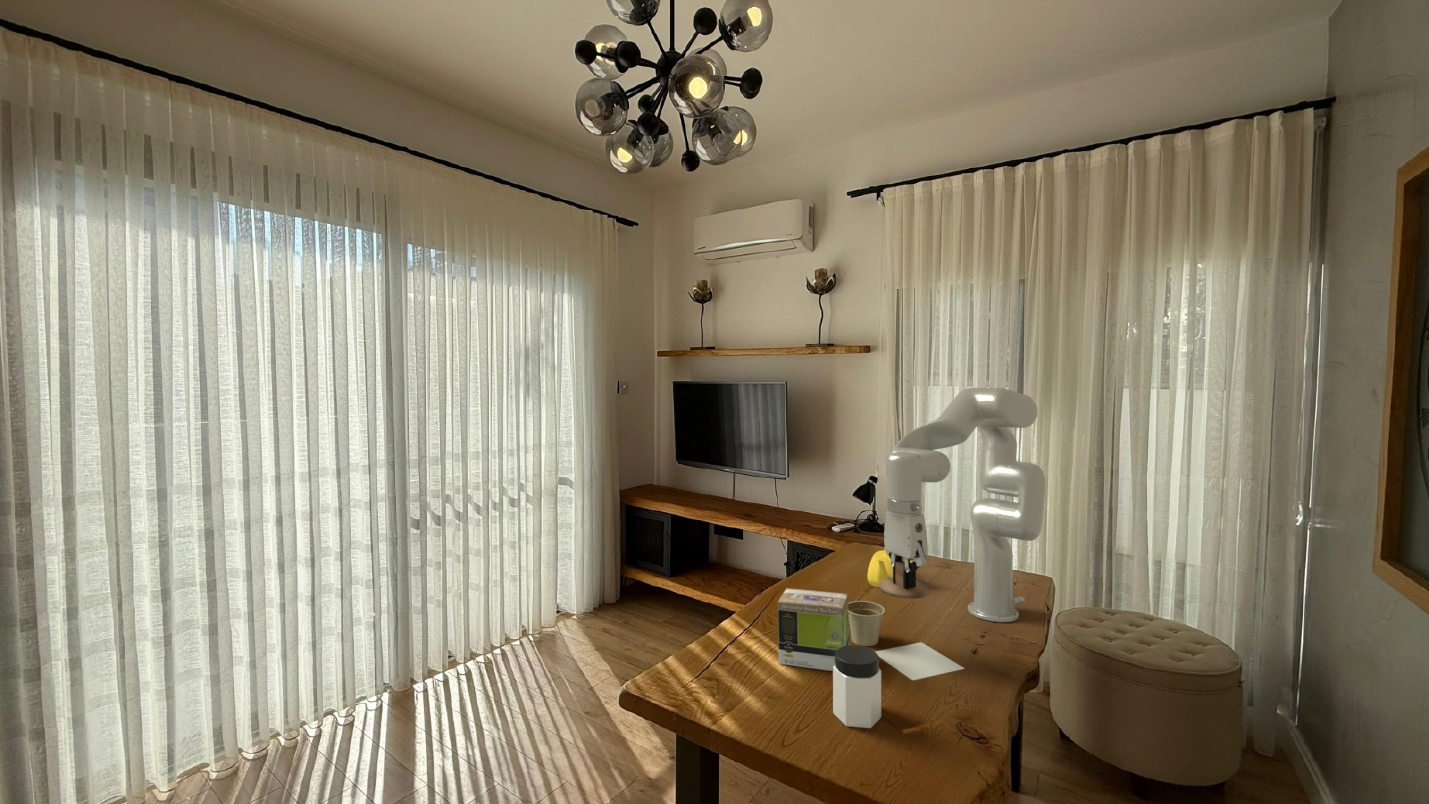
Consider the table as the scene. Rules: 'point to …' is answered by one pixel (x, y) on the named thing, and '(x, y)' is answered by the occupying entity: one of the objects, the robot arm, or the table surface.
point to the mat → (918, 661)
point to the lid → (897, 588)
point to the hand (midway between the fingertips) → (904, 584)
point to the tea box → (812, 627)
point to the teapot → (880, 568)
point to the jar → (857, 686)
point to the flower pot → (865, 622)
